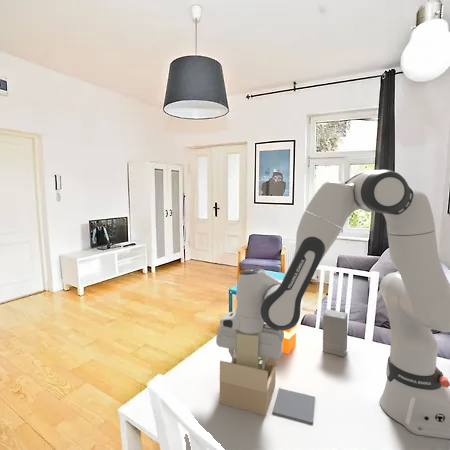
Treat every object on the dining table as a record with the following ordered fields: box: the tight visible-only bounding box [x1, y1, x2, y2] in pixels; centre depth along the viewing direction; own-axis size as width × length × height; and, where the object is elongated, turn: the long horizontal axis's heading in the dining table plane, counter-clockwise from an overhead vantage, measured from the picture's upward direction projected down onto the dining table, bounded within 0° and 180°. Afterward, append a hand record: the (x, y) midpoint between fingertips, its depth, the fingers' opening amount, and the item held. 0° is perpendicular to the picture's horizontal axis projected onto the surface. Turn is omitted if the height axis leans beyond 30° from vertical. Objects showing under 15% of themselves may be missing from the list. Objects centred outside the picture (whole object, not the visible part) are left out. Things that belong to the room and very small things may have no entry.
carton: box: [219, 350, 277, 416], centre depth 91 cm, size 14×14×13 cm
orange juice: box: [282, 323, 298, 354], centre depth 120 cm, size 8×9×20 cm
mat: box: [272, 387, 316, 425], centre depth 87 cm, size 11×11×1 cm
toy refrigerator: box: [236, 330, 261, 369], centre depth 91 cm, size 8×7×21 cm
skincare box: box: [322, 309, 348, 357], centre depth 117 cm, size 8×7×16 cm
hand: (247, 364), depth 91 cm, fingers open, 7 cm apart
